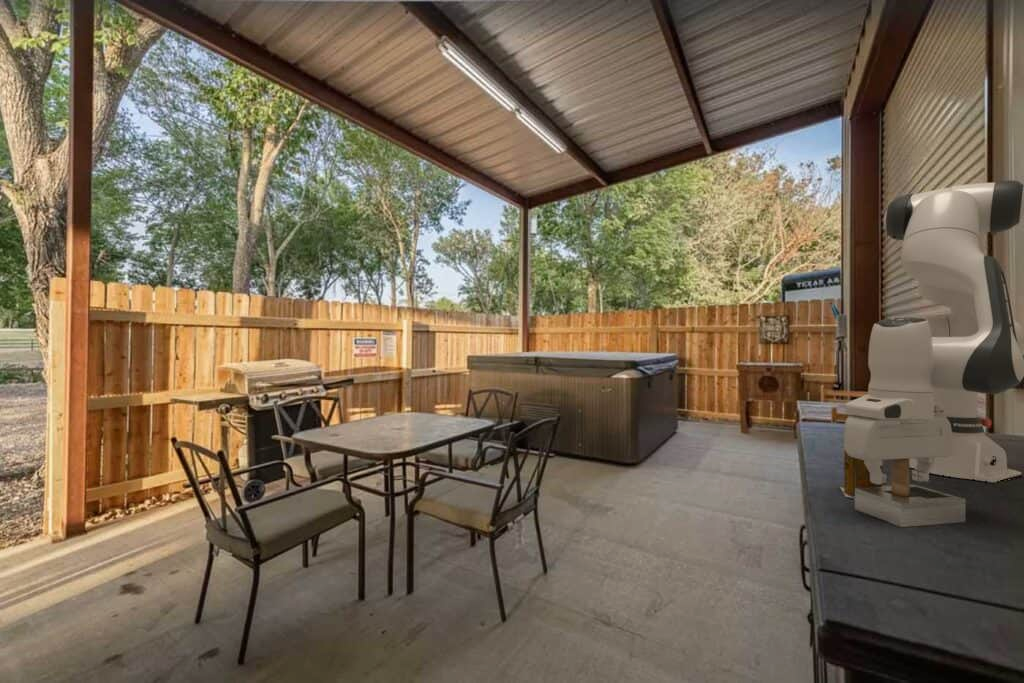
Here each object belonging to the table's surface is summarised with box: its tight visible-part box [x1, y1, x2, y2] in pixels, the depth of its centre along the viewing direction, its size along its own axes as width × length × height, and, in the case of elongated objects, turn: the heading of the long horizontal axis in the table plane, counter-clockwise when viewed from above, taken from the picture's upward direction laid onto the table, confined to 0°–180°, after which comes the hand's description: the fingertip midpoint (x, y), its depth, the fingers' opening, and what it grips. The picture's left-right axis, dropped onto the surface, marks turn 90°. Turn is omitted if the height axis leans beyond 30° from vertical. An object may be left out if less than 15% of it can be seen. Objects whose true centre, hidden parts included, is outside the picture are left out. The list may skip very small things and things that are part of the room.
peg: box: [890, 459, 910, 498], centre depth 77 cm, size 4×4×10 cm
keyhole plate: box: [854, 483, 966, 528], centre depth 77 cm, size 14×8×4 cm, turn 101°
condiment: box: [839, 449, 883, 499], centre depth 87 cm, size 7×8×12 cm
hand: (899, 482), depth 77 cm, fingers open, 8 cm apart
